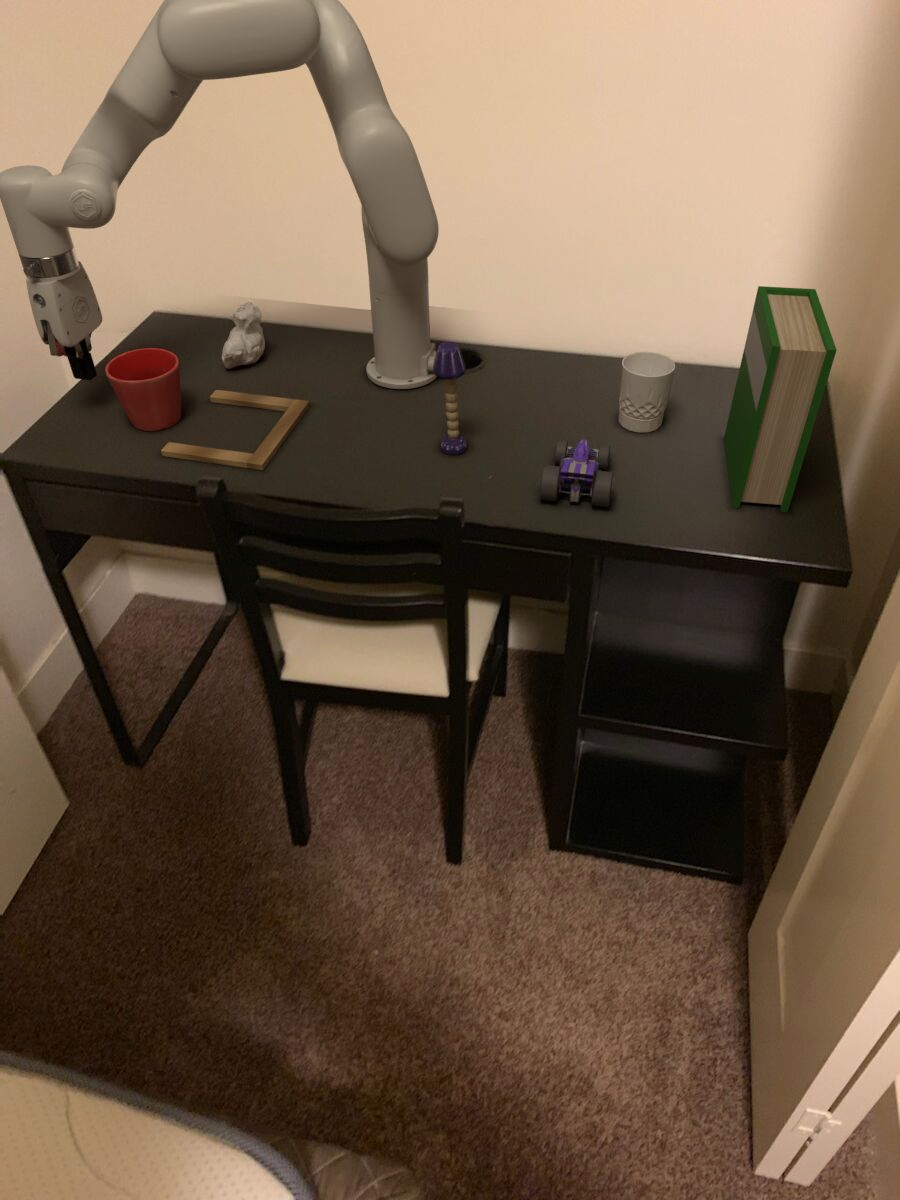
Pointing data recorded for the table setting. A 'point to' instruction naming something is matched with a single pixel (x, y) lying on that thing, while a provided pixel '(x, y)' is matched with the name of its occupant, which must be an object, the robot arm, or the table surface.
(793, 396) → the hardback book
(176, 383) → the flower pot
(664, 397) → the white cup
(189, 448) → the frame
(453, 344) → the toy lamp
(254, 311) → the bust
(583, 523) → the table surface
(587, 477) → the toy race car
